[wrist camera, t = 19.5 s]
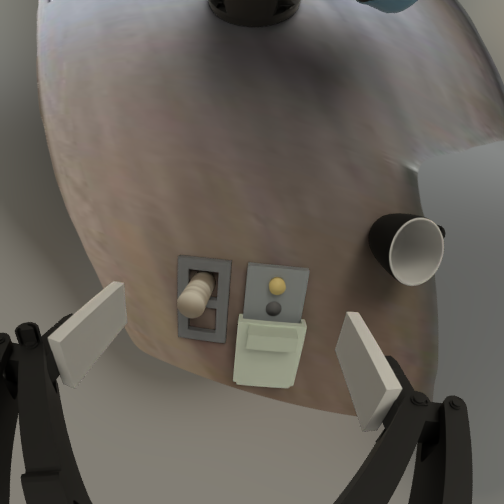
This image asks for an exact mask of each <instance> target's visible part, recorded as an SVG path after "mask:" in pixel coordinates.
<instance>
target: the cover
mask: <svg viewBox="0 0 504 504" xmlns="http://www.w3.org/2000/svg"><path fill="white" fill-rule="evenodd" d="M306 329H307V326H306V322H305V320H304V319H301V322H300V323H287V322H274V321H263V320H253V319H243V314H239V319H238V329H237V340H236V352H235V363H234V375H233V381H234V382H236V384H238V385H248V386H260V387H275V388H289V386H293V384H294V381H295V377H296V373H297V368H298V364H299V360H300V356H301V352H302V347H303V343H304V338H305V334H306Z"/></svg>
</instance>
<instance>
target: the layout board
mask: <svg viewBox="0 0 504 504" xmlns="http://www.w3.org/2000/svg"><path fill="white" fill-rule="evenodd" d="M309 272H310V271H309V269H308V268H302V267H292V266H282V265H272V264H262V263H252V262H248V271H247V281H246V291H245V302H244V312H243V319H253V320H263V321H274V322H287V323H300V321H301V316H302V311H303V305H304V300H305V295H306V289H307V283H308V277H309Z"/></svg>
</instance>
